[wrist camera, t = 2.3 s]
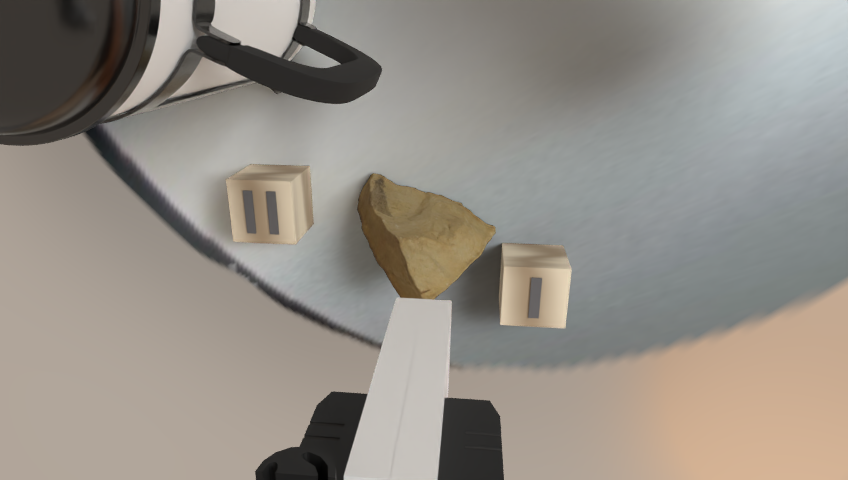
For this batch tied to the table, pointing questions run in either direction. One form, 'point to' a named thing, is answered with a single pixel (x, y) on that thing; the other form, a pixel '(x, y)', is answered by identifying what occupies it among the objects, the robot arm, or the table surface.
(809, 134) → the table surface
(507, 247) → the birch block
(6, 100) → the coffee press
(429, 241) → the rock
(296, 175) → the birch block
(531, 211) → the table surface
